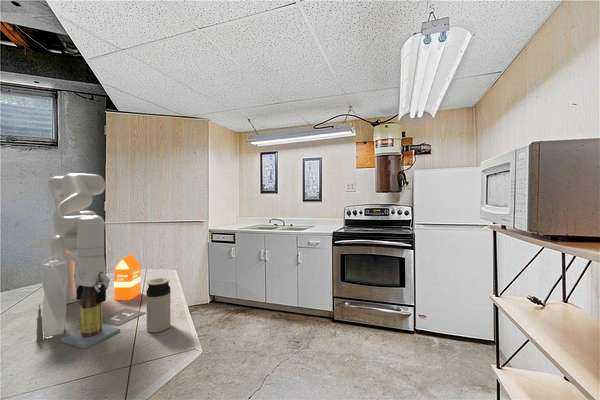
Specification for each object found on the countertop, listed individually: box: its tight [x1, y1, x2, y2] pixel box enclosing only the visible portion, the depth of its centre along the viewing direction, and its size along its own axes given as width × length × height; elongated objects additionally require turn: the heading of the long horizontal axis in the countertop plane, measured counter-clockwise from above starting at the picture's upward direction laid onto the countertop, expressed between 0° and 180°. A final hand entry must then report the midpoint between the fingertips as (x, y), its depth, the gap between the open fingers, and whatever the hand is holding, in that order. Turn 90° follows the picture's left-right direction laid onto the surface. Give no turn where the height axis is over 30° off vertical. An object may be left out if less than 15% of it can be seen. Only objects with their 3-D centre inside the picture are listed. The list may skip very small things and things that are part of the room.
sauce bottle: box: [78, 286, 103, 337], centre depth 95 cm, size 6×6×20 cm
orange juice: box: [113, 253, 142, 301], centre depth 133 cm, size 8×9×20 cm
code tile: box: [102, 308, 147, 326], centre depth 111 cm, size 12×12×1 cm
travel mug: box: [146, 277, 171, 334], centre depth 101 cm, size 8×8×18 cm
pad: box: [60, 324, 121, 350], centre depth 95 cm, size 12×12×1 cm
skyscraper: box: [35, 255, 68, 343], centre depth 97 cm, size 8×8×28 cm
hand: (91, 300), depth 95 cm, fingers open, 9 cm apart
